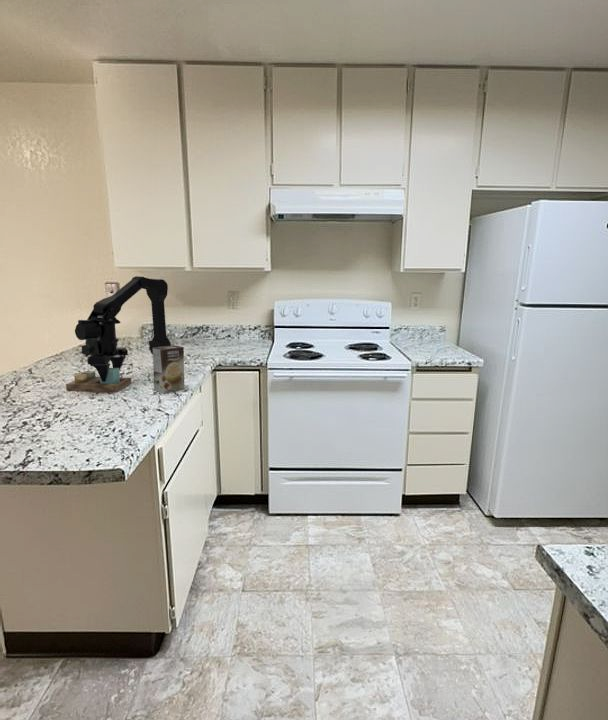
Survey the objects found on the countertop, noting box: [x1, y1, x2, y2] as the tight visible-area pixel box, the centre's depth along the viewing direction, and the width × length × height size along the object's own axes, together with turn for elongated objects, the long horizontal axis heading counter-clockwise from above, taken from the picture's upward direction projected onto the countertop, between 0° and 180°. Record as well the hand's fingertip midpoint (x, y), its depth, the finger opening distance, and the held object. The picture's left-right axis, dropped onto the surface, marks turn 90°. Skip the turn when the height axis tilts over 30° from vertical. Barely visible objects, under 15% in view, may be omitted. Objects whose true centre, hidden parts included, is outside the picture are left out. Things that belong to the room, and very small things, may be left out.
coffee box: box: [152, 344, 185, 394], centre depth 149 cm, size 9×6×16 cm
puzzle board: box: [65, 370, 132, 393], centre depth 150 cm, size 18×12×5 cm, turn 89°
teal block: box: [100, 367, 121, 384], centre depth 150 cm, size 5×5×6 cm
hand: (110, 378), depth 150 cm, fingers open, 9 cm apart
